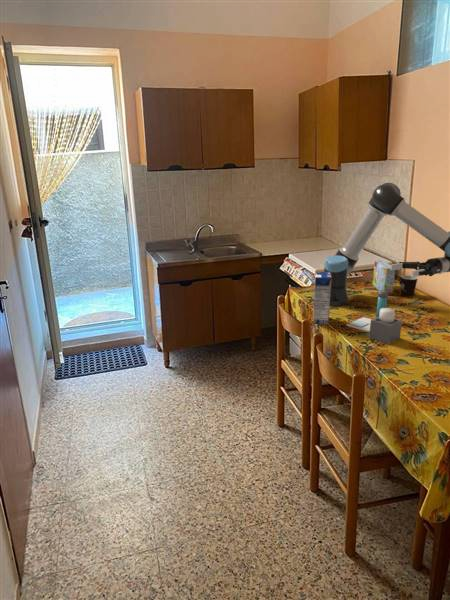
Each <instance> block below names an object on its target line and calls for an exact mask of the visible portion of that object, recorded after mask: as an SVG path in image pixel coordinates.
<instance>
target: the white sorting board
mask: <svg viewBox="0 0 450 600" xmlns="http://www.w3.org/2000/svg"><path fill="white" fill-rule="evenodd" d="M372 319H373V318H372ZM372 319H371V318H369V317H364V316H363V317H360V318H358V319H355V320H353V321H351V322H348V323H346V327H349V328H353V329H357V330H359V331H363V332H366V333H369V334H370V324H371V320H372Z"/></svg>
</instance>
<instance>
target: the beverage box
mask: <svg viewBox="0 0 450 600" xmlns="http://www.w3.org/2000/svg"><path fill="white" fill-rule="evenodd" d="M314 275H315V279H314V295H313V312H312V324H313V325H318V326H319V325H320V326H321V325H322V326H329V320H330V319H329V318H330V293H331V279H332V278H331V272H324V271H315V274H314Z"/></svg>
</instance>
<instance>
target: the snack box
mask: <svg viewBox="0 0 450 600" xmlns="http://www.w3.org/2000/svg"><path fill="white" fill-rule="evenodd" d="M391 265H392V264H390V263H388V262H387V261H385V260H383V259H381V260H380V259H375V260H374V267H373V276H372V282H371V283H372V286H373V287H375V288H376V289H377V290H378V291H379V290H385V291H388V295H389V296H390V295H391V296H392V295H393V290H394V283H395V275H396V270H390V268H391Z"/></svg>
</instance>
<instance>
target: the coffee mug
mask: <svg viewBox="0 0 450 600" xmlns="http://www.w3.org/2000/svg"><path fill="white" fill-rule="evenodd" d="M418 279H419V277H418V276H416V277H412V275H407V274H406V275H401V276H399V279H398V281H399V284H400V296H402V297H405V298H406V297H407V298H410V297H414V294H415V290H416V287H417V283H418Z"/></svg>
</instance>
